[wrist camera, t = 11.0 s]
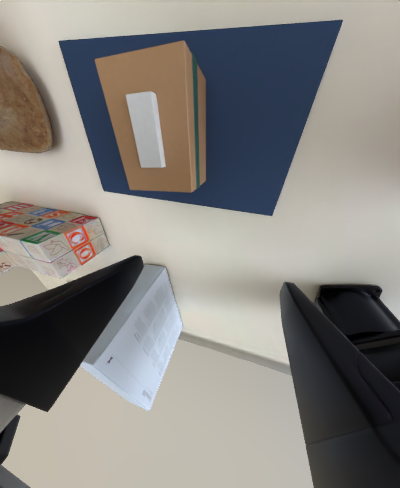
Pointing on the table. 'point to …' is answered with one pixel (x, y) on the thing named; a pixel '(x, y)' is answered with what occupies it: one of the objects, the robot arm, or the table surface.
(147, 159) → the cardboard box
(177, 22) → the table surface
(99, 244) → the stack of blocks
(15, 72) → the stone cup
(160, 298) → the skincare box
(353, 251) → the table surface
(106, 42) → the desk mat
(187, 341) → the table surface
